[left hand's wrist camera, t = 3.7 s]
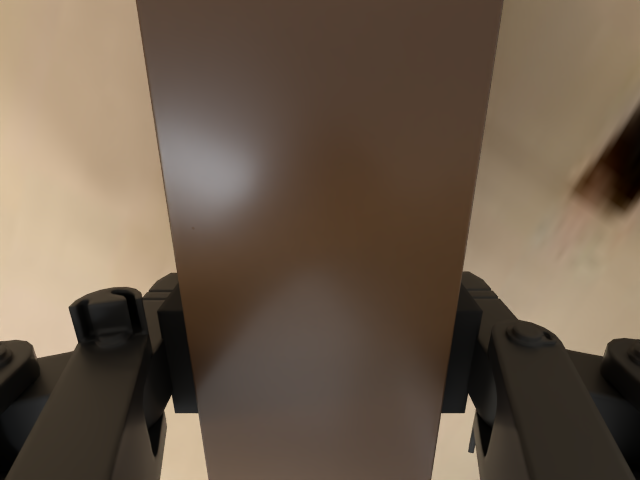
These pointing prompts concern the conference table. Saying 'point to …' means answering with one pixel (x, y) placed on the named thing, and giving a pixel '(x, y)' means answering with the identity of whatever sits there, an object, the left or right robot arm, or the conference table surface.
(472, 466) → the conference table surface
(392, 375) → the plank
